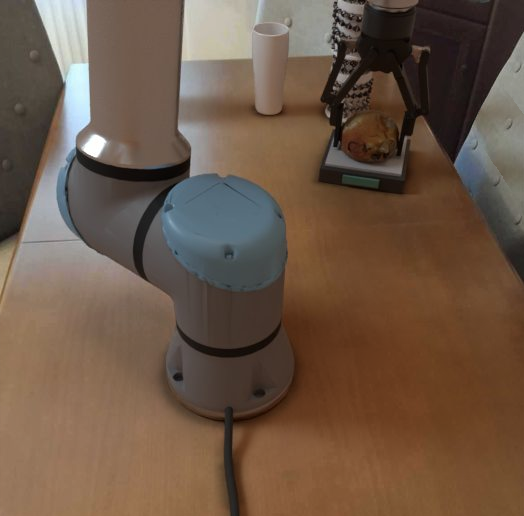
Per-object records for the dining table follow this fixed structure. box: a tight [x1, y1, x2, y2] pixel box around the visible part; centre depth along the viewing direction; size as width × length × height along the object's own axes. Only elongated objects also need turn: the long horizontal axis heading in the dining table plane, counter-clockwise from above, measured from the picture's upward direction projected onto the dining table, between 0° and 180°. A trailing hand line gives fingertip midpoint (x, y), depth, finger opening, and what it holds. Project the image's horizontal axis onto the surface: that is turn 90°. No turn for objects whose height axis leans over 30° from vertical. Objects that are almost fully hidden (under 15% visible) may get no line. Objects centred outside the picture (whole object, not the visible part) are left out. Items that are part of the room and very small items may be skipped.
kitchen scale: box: [318, 128, 412, 195], centre depth 103 cm, size 14×14×3 cm
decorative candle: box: [324, 0, 374, 124], centre depth 109 cm, size 9×9×25 cm
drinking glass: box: [251, 21, 290, 116], centre depth 112 cm, size 7×7×15 cm
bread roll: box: [340, 109, 400, 162], centre depth 100 cm, size 10×10×8 cm
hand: (367, 147), depth 102 cm, fingers closed on bread roll, 10 cm apart
